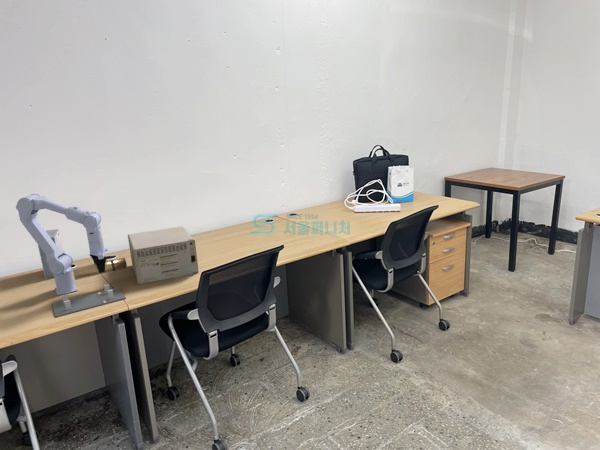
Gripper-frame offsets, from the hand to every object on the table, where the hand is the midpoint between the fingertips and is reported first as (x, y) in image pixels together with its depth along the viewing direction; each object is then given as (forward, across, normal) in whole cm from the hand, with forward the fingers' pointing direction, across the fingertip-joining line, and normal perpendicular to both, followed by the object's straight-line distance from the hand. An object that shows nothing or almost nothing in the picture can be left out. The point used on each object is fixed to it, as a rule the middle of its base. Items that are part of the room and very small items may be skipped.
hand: (100, 270), depth 196 cm
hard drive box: (+8, +38, +15) cm, 42 cm away
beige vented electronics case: (+9, +6, -29) cm, 31 cm away
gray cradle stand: (+8, -12, +8) cm, 17 cm away
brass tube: (+2, 0, 0) cm, 2 cm away
